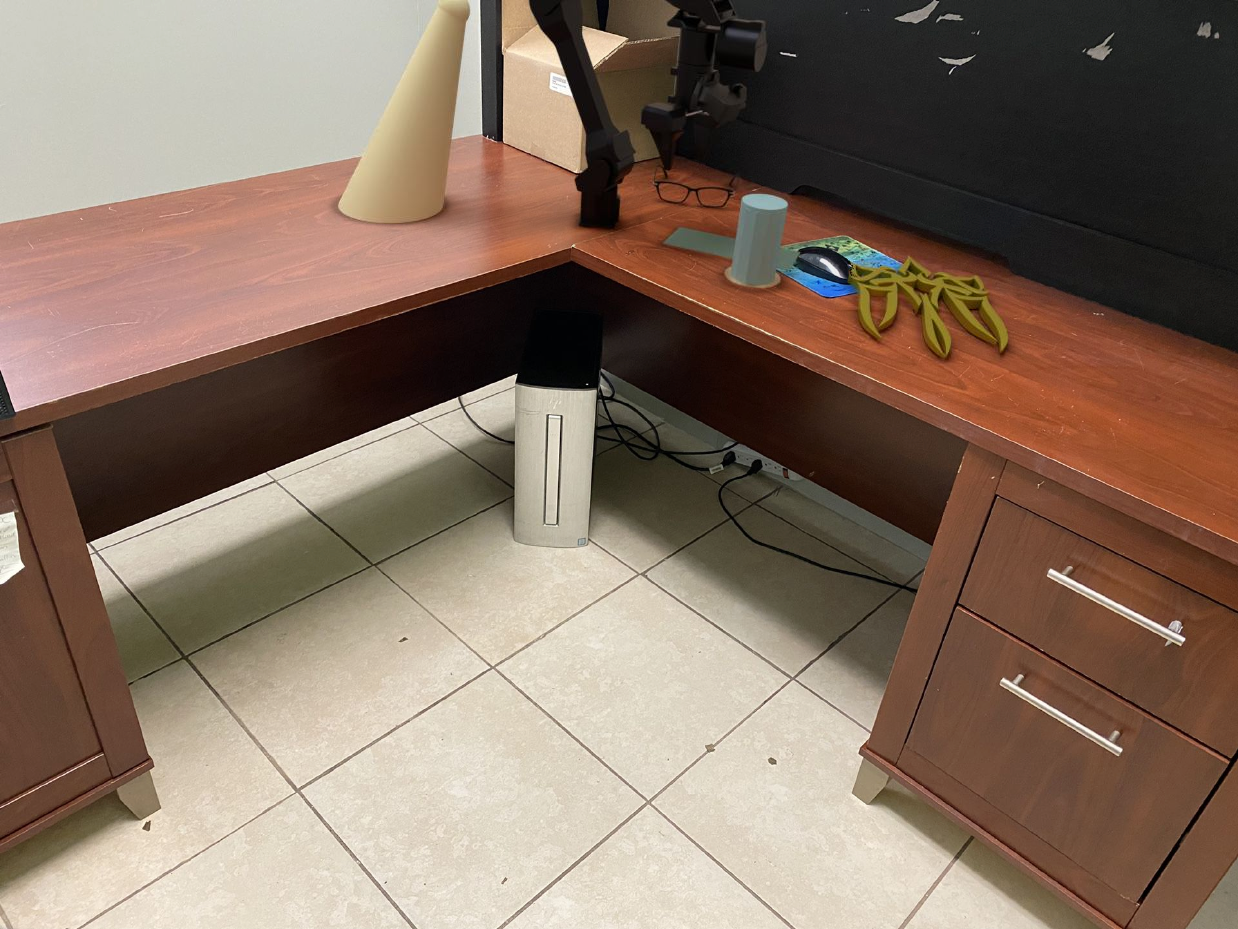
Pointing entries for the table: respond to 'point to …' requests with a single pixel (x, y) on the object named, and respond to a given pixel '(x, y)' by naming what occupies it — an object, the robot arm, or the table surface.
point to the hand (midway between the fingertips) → (684, 164)
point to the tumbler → (758, 238)
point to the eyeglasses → (693, 189)
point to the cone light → (414, 130)
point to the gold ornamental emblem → (927, 302)
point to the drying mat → (720, 245)
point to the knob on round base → (730, 278)
